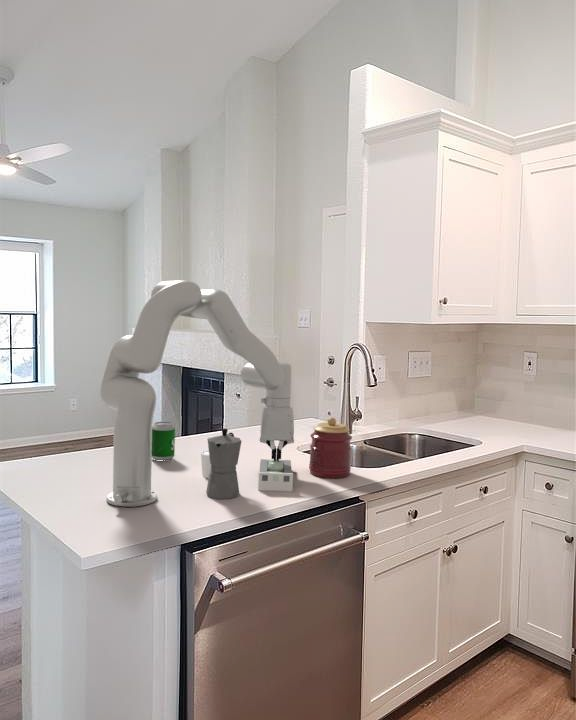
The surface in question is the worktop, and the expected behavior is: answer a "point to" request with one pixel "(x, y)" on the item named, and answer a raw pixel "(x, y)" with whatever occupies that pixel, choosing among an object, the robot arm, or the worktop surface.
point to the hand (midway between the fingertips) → (276, 461)
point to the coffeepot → (223, 466)
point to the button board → (275, 477)
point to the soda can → (163, 441)
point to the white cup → (205, 464)
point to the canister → (330, 450)
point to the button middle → (275, 466)
